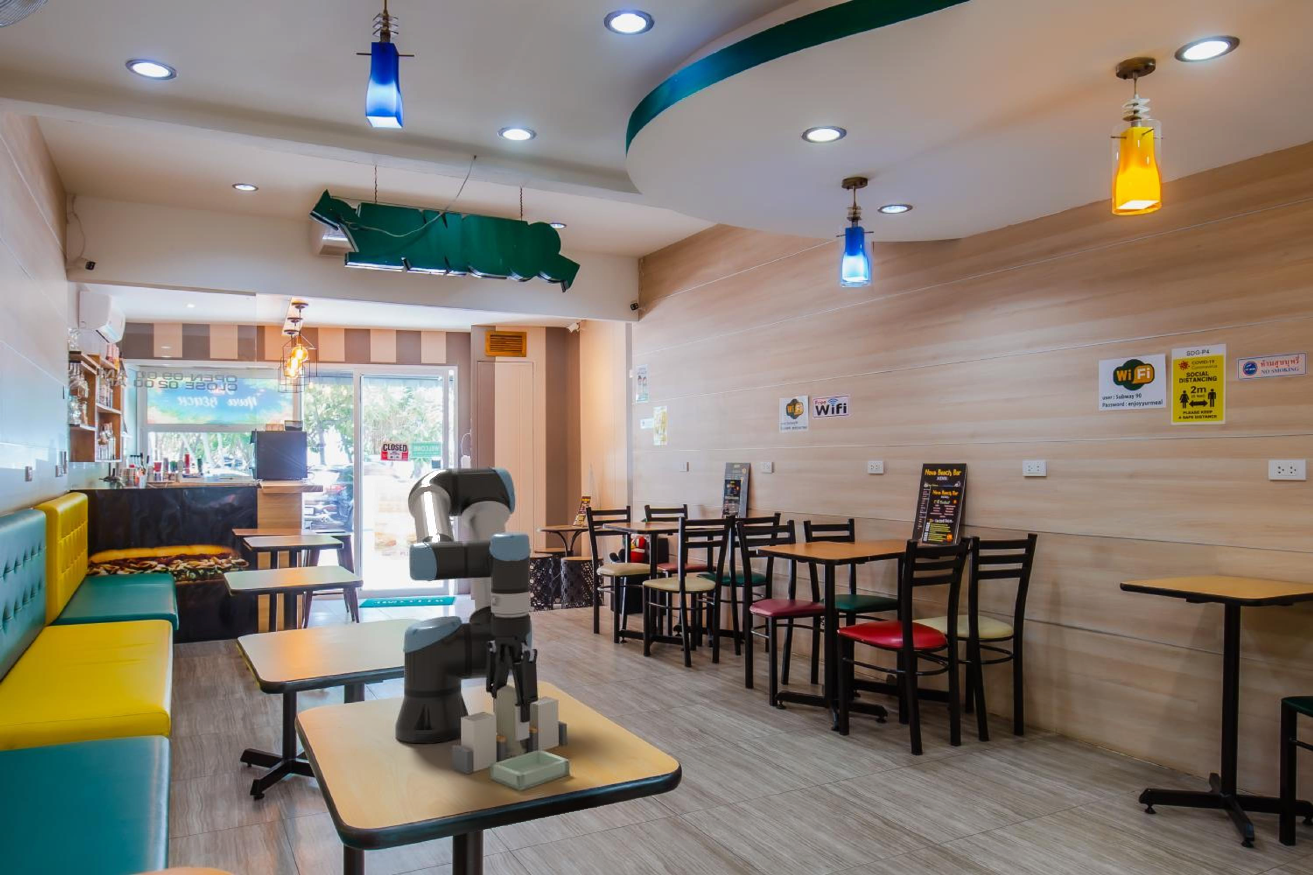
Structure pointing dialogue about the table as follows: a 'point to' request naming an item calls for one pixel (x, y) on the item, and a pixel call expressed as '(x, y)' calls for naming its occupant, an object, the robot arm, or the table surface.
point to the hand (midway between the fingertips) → (511, 734)
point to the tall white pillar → (545, 722)
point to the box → (509, 721)
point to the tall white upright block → (480, 739)
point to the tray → (529, 769)
